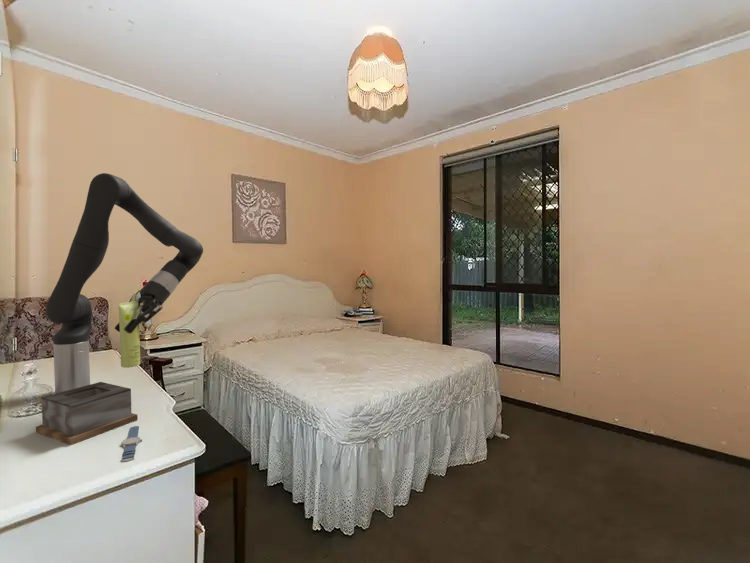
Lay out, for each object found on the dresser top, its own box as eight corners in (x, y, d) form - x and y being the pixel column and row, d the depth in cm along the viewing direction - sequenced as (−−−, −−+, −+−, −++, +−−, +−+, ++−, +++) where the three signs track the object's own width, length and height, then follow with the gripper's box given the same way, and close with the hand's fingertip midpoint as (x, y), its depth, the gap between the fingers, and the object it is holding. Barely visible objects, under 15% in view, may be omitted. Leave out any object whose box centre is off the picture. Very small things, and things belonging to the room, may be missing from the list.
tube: (140, 366, 112) (139, 302, 111) (120, 369, 109) (118, 303, 108) (140, 362, 116) (138, 300, 115) (120, 365, 113) (118, 301, 112)
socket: (35, 432, 96) (34, 397, 95) (103, 410, 110) (102, 380, 110) (70, 445, 89) (69, 408, 89) (137, 419, 104) (136, 388, 103)
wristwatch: (116, 465, 81) (116, 460, 81) (125, 429, 98) (125, 426, 98) (139, 460, 83) (139, 456, 83) (144, 426, 100) (144, 422, 100)
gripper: (137, 279, 121) (97, 321, 110) (167, 280, 115) (127, 325, 104) (153, 294, 126) (117, 336, 115) (182, 296, 120) (146, 340, 110)
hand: (122, 330), depth 110 cm, fingers closed on tube, 4 cm apart
